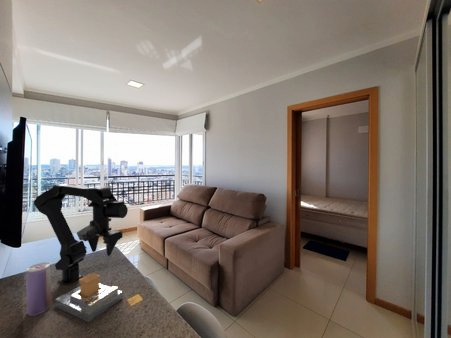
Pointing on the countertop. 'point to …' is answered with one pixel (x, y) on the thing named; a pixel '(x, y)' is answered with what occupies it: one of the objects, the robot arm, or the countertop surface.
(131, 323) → the countertop surface
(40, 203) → the robot arm
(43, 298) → the beverage can
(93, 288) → the wedge pin
